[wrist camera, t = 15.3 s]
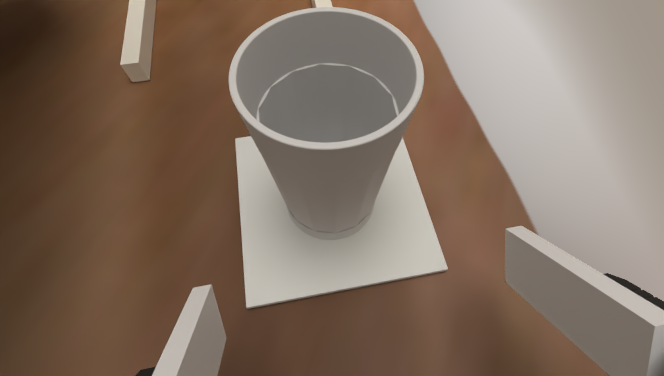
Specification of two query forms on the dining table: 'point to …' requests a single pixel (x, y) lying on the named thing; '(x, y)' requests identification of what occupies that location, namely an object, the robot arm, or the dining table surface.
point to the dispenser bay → (149, 37)
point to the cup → (327, 110)
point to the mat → (331, 255)
